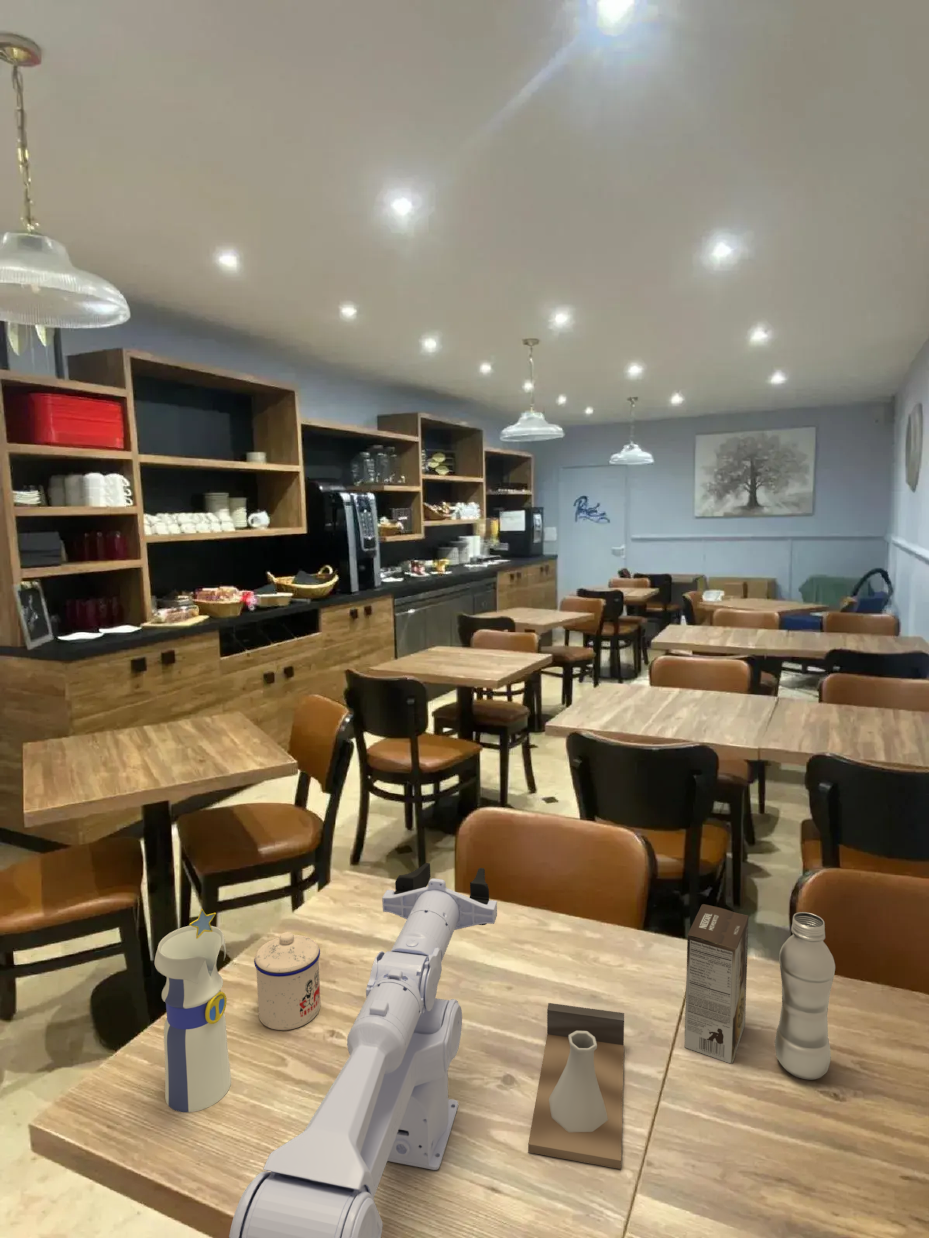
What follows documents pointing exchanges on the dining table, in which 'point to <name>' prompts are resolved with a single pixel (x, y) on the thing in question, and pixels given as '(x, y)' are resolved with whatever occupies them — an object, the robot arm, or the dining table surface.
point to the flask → (579, 1088)
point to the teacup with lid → (288, 981)
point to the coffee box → (716, 982)
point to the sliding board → (609, 1074)
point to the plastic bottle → (805, 999)
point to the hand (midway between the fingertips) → (454, 872)
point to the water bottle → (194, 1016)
